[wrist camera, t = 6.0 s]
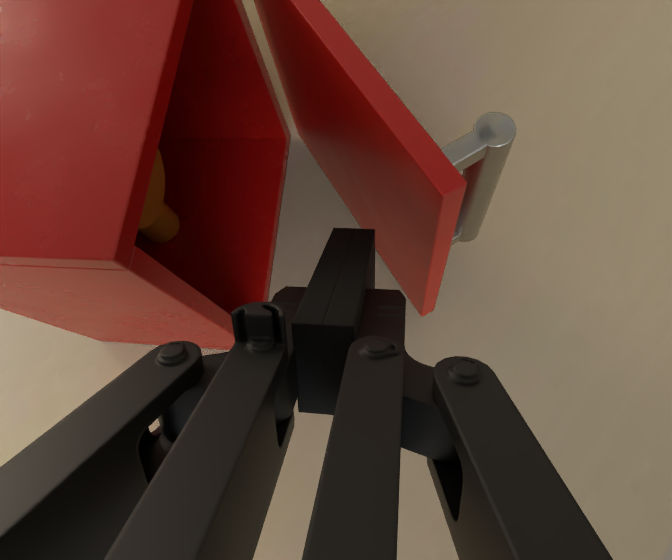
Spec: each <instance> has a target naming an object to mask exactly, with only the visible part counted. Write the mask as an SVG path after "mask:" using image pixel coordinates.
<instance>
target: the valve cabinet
mask: <svg viewBox="0 0 672 560" xmlns="http://www.w3.org/2000/svg"><path fill="white" fill-rule="evenodd" d="M290 137H291V136H290V133H289V130H288V127H287V125H286V122H285V119H284V116H283V113H282V111H281V108H280V105H279V102H278V100H277V97H276V94H275V91H274V89H273V86H272V83H271V80H270V77H269V75H268V72H267V69H266V66H265V64H264V61H263V58H262V55H261V53H260V50H259V47H258V44H257V41H256V39H255V36H254V33H253V30H252V28H251V25H250V22H249V19H248V17H247V14H246V11H245V8H244V5H243V3H242V0H0V308H1V309H4V310H7V311H10V312H13V313H16V314H19V315H22V316H25V317H28V318H31V319H34V320H37V321H41V322H44V323H47V324H50V325H53V326H56V327H59V328H62V329H65V330H68V331H71V332H74V333H77V334H80V335H83V336H86V337H90V338H93V339H96V340H99V341H108V342H122V343H137V344H151V345H163V344H166V343H168V342H172V341H190V342H193V343H195V344H197V345H198V346H199V347H200V348H209V349H223V350H230V349H231V348H232V346H233V345H234V343H235V338H234V332H233V325H232V319H231V313H232V312H233V311H234V310H235V309H236V308H238V307H240V306H242V305H244V304H248V303H252V302H263V301H265V302H267V301H268V294H269V286H270V279H271V272H272V265H273V258H274V251H275V244H276V237H277V230H278V222H279V215H280V208H281V201H282V194H283V187H284V180H285V173H286V165H287V158H288V151H289V144H290Z"/></svg>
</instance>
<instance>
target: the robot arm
mask: <svg viewBox="0 0 672 560" xmlns="http://www.w3.org/2000/svg"><path fill="white" fill-rule="evenodd" d="M405 307H406V298H405V297H404V296H403V294H402V293H401V292H400V290H387V289H375V229H351V228H333V231H332V233H331V235H330V237H329V240H328V242H327V244H326V246H325V249H324V251H323V253H322V255H321V258H320V260H319V262H318V264H317V267H316V269H315V271H314V273H313V276H312V278H311V280H310V282H309V285H308V287H288V286H286V287H285V288H283V289H282V290H280V291H279V292H277V293H276V294H275V296H274V297H273V299H272V301H271V302H265V301H263V302H252V303H248V304H244V305H242V306H240V307H238V308H236V309H235V310H234V311H233V312H232V313H231V319H232V325H233V332H234V338H235V343H234V345H233V346H232V348H231V349H230V351H229V352H224V353H219V354H212V355H205V356H202V353H201V349H200V347H199V346H198V345H197V344H195V343H193V342H190V341H172V342H168V343H166V344H163V345H160V346H158V347H156V348H155V349H153V350H151V351H150V352H149V353H147V354H146V355H145V356H144V357H142V358H141V359H140V360H138V361H137V362H136V363H135V364H133V365H132V366H131V367H129V368H128V369H127V370H126V371H124V372H123V373H122V374H120V375H119V376H118V377H116V378H115V379H114V380H113V381H111V382H110V383H109V384H107V385H106V386H105V387H104V388H102V389H101V390H100V391H98V392H97V393H96V394H95V395H93V396H92V397H91V398H89V399H88V400H87V401H85V402H84V403H83V404H82V405H80V406H79V407H78V408H76V409H75V410H74V411H73V412H71V413H70V414H69V415H67V416H66V417H65V418H64V419H62V420H61V421H60V422H58V423H57V424H56V425H54V426H53V427H52V428H51V429H49V430H48V431H47V432H45V433H44V434H43V435H42V436H40V437H39V438H38V439H36V440H35V441H34V442H32V443H31V444H30V445H29V446H27V447H26V448H25V449H23V450H22V451H21V452H20V453H18V454H17V455H16V456H14V457H13V458H12V459H11V460H9V461H8V462H7V463H5V464H4V465H3V466H1V467H0V560H252V559H253V556H254V553H255V550H256V547H257V543H258V540H259V537H260V534H261V531H262V527H263V524H264V521H265V518H266V515H267V511H268V508H269V505H270V502H271V499H272V495H273V492H274V489H275V486H276V483H277V479H278V476H279V473H280V470H281V467H282V464H283V460H284V457H285V454H286V451H287V448H288V444H289V441H290V438H291V435H292V432H293V428H294V410H293V409H294V406H295V403H296V400H297V397H298V409H299V412H305V413H317V414H329V415H334V417H333V422H332V426H331V430H330V435H329V439H328V444H327V448H326V453H325V457H324V462H323V466H322V471H321V475H320V480H319V484H318V489H317V493H316V498H315V502H314V507H313V511H312V516H311V520H310V525H309V529H308V534H307V538H306V543H305V547H304V552H303V556H302V560H396V558H397V531H398V504H399V478H400V451H401V447H402V448H404V449H407V450H410V451H412V452H415V453H418V454H421V455H423V456H426V457H427V464H428V467H429V470H430V473H431V476H432V479H433V482H434V485H435V488H436V491H437V494H438V497H439V500H440V503H441V506H442V509H443V512H444V515H445V518H446V521H447V524H448V527H449V530H450V533H451V536H452V539H453V542H454V545H455V548H456V551H457V554H458V557H459V560H613V559H612V557H611V556H610V554H609V552H608V551H607V549H606V548H605V546H604V545H603V543H602V541H601V540H600V538H599V537H598V535H597V534H596V532H595V530H594V529H593V527H592V526H591V524H590V523H589V521H588V519H587V518H586V516H585V515H584V513H583V512H582V510H581V508H580V507H579V505H578V504H577V502H576V501H575V499H574V497H573V496H572V494H571V493H570V491H569V490H568V488H567V486H566V485H565V483H564V482H563V480H562V478H561V477H560V475H559V474H558V472H557V471H556V469H555V467H554V466H553V464H552V463H551V461H550V460H549V458H548V456H547V455H546V453H545V452H544V450H543V449H542V447H541V445H540V444H539V442H538V441H537V439H536V438H535V436H534V434H533V433H532V431H531V430H530V428H529V427H528V425H527V423H526V422H525V420H524V419H523V417H522V416H521V414H520V412H519V411H518V409H517V408H516V406H515V405H514V403H513V401H512V400H511V398H510V397H509V395H508V394H507V392H506V390H505V389H504V387H503V386H502V384H501V383H500V381H499V379H498V378H497V376H496V375H495V373H494V372H493V371H492V370H491V369H490V367H489V366H488V365H486V364H484V363H482V362H481V361H479V360H476V359H472V358H469V357H458V356H454V357H449V358H445V359H443V360H441V361H440V362H438V363H437V364H436V366H435V368H434V367H431V366H427V365H425V364H422V363H419V362H418V361H416V360H414V359H413V358H411V357H410V356H409V355H408V354H407V352H406V350H405V346H404V337H405ZM157 418H158V419H159V423H160V426H159V427H158V428H157V429H156V430H154V431H153V432H151V433H150V431H149V426H150V425H151V424H152V423H153V422H154V421H155V420H156V419H157Z"/></svg>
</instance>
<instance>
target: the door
mask: <svg viewBox="0 0 672 560" xmlns="http://www.w3.org/2000/svg"><path fill="white" fill-rule="evenodd" d="M254 2H255V5H256V8H257V11H258V14H259V17H260V20H261V23H262V26H263V29H264V32H265V35H266V38H267V41H268V44H269V47H270V50H271V53H272V56H273V59H274V62H275V65H276V68H277V71H278V74H279V77H280V80H281V83H282V86H283V89H284V92H285V95H286V98H287V101H288V104H289V107H290V110H291V113H292V116H293V119H294V122H295V125H296V128H297V131H298V134H299V136H300V137H301V139H302V140H303V141H304V143H305V144H306V146H307V147H308V149H309V150H310V152H311V153H312V155H313V156H314V158H315V159H316V161H317V162H318V164H319V165H320V167H321V168H322V170H323V171H324V173H325V174H326V176H327V177H328V179H329V180H330V182H331V183H332V185H333V186H334V188H335V189H336V191H337V192H338V194H339V195H340V196H341V198H342V199H343V201H344V202H345V204H346V205H347V207H348V208H349V210H350V211H351V213H352V214H353V216H354V217H355V219H356V220H357V222H358V223H359V225H360V226H361V228H362V229H375V249H376V250H377V251H378V253H379V254H380V256H381V257H382V259H383V260H384V262H385V263H386V265H387V266H388V268H389V269H390V271H391V272H392V274H393V275H394V277H395V278H396V280H397V281H398V283H399V284H400V286H401V287H402V289H403V290H404V292H405V293H406V295H407V296H408V298H409V299H410V301H411V302H412V304H413V305H414V306H415V308H416V309H417V311H418V312H419V314H420V315H421V316H424V315H426V314H428V313H429V312H431V311H433V310H434V307H435V303H436V299H437V296H438V292H439V288H440V284H441V280H442V276H443V273H444V269H445V265H446V261H447V257H448V254H449V250H450V246H451V245H453V244H455V243H456V242H458V241H461V242H468V241H471V240H473V239H474V238H475V237H476V236H477V235H478V232H479V230H480V227H481V224H482V222H483V219H484V216H485V214H486V211H487V209H488V206H489V203H490V201H491V198H492V195H493V193H494V190H495V188H496V185H497V182H498V180H499V177H500V174H501V172H502V169H503V166H504V164H505V161H506V159H507V156H508V153H509V151H510V148H511V145H512V143H513V140H514V138H515V135H516V126H515V123H514V121H513V120H512V119H511V118H510V117H509V116H507V115H506V114H503V113H499V112H490V113H486V114H484V115H482V116H481V117H479V118H478V119H477V120H476V122H475V124H474V127H473V131H471V132H469V133H468V134H466V135H464V136H462V137H461V138H459V139H457V140H456V141H454V142H452V143H450V144H449V145H447V146H445V147H443V148H442V149H440V148H439V147H438V146H437V144H436V143H435V142H434V141H433V139H432V138H431V137H430V136H429V135H428V133H427V132H426V131H425V130H424V128H423V127H422V126H421V125H420V123H419V122H418V121H417V120H416V118H415V117H414V116H413V115H412V114H411V112H410V111H409V110H408V109H407V107H406V106H405V105H404V104H403V102H402V101H401V100H400V99H399V98H398V96H397V95H396V94H395V93H394V91H393V90H392V89H391V88H390V86H389V85H388V84H387V83H386V81H385V80H384V79H383V78H382V77H381V75H380V74H379V73H378V72H377V70H376V69H375V68H374V67H373V65H372V64H371V63H370V62H369V60H368V59H367V58H366V57H365V56H364V54H363V53H362V52H361V51H360V49H359V48H358V47H357V46H356V44H355V43H354V42H353V41H352V39H351V38H350V37H349V36H348V35H347V33H346V32H345V31H344V30H343V28H342V27H341V26H340V25H339V23H338V22H337V21H336V20H335V18H334V17H333V16H332V15H331V14H330V12H329V11H328V10H327V9H326V7H325V6H324V5H323V4H322V2H321V1H320V0H254ZM462 170H463V173H462V175H461V174H460V173H459V172H460V171H462Z"/></svg>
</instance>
